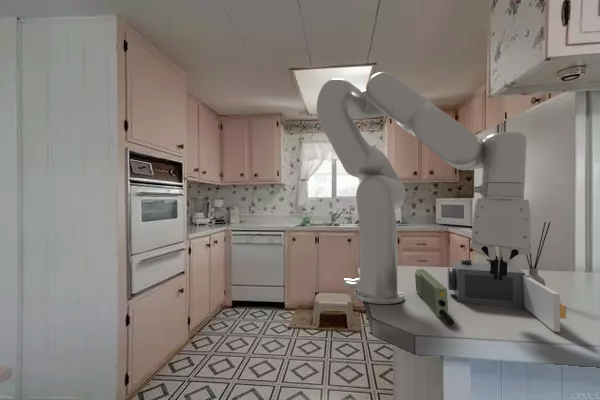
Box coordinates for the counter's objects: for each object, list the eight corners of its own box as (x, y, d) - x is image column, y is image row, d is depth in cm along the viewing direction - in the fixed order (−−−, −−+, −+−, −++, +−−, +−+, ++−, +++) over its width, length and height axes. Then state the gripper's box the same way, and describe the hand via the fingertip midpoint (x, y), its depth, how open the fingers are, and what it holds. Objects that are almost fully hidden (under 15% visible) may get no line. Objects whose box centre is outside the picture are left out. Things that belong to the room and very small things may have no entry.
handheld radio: (427, 293, 85) (460, 329, 60) (415, 293, 85) (442, 329, 61) (426, 268, 85) (458, 294, 60) (414, 268, 85) (440, 294, 61)
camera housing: (451, 300, 77) (450, 264, 77) (447, 290, 86) (446, 257, 87) (525, 307, 72) (525, 268, 72) (512, 295, 81) (512, 261, 81)
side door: (522, 306, 72) (522, 275, 72) (533, 307, 71) (532, 275, 71) (553, 331, 58) (552, 292, 58) (566, 332, 57) (566, 293, 57)
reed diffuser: (509, 293, 83) (508, 219, 84) (526, 290, 86) (525, 218, 86) (552, 304, 74) (551, 220, 74) (569, 301, 76) (568, 220, 77)
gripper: (460, 191, 66) (456, 276, 67) (549, 192, 58) (544, 290, 58) (464, 192, 72) (461, 269, 73) (545, 193, 64) (541, 281, 64)
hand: (498, 278), depth 65 cm, fingers closed
